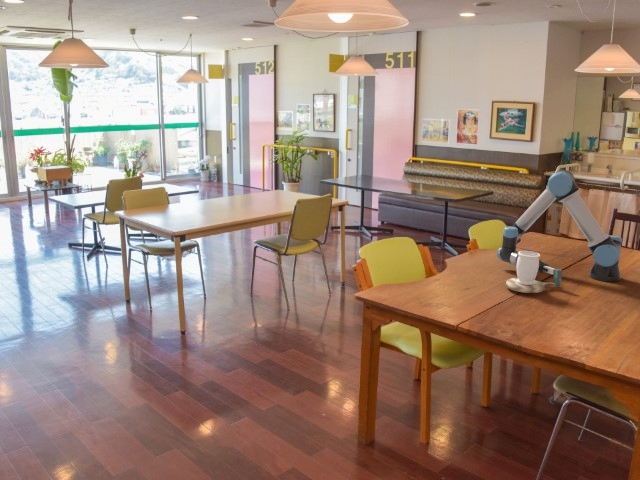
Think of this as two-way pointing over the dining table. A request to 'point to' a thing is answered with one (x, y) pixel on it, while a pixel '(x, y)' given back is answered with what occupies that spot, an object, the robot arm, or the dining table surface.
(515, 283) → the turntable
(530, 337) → the dining table surface
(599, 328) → the dining table surface
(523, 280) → the jar
